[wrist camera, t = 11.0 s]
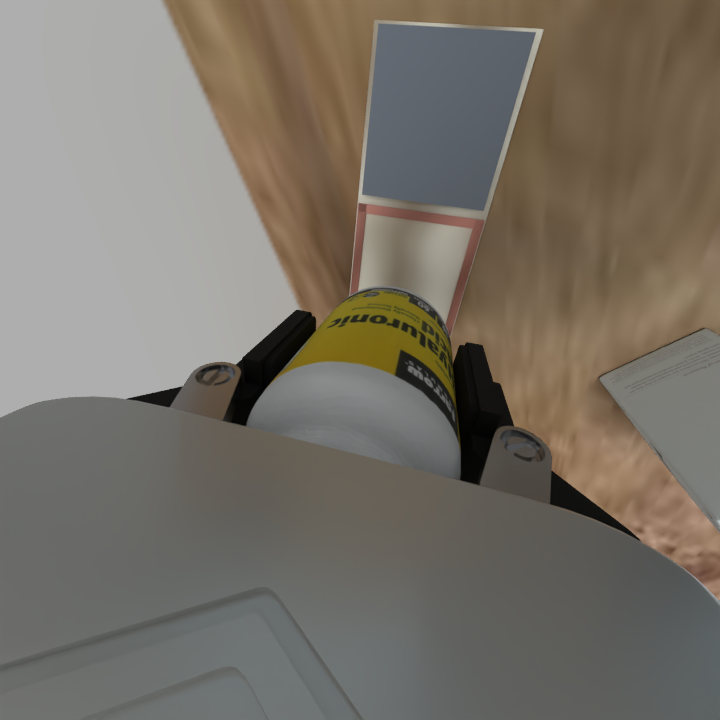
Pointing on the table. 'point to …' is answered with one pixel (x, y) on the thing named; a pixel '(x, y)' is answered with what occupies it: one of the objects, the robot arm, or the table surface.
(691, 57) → the table surface
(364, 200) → the stamping board
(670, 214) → the table surface
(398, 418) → the supplement bottle
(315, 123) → the table surface
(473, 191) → the ink pad
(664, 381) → the supplement box
